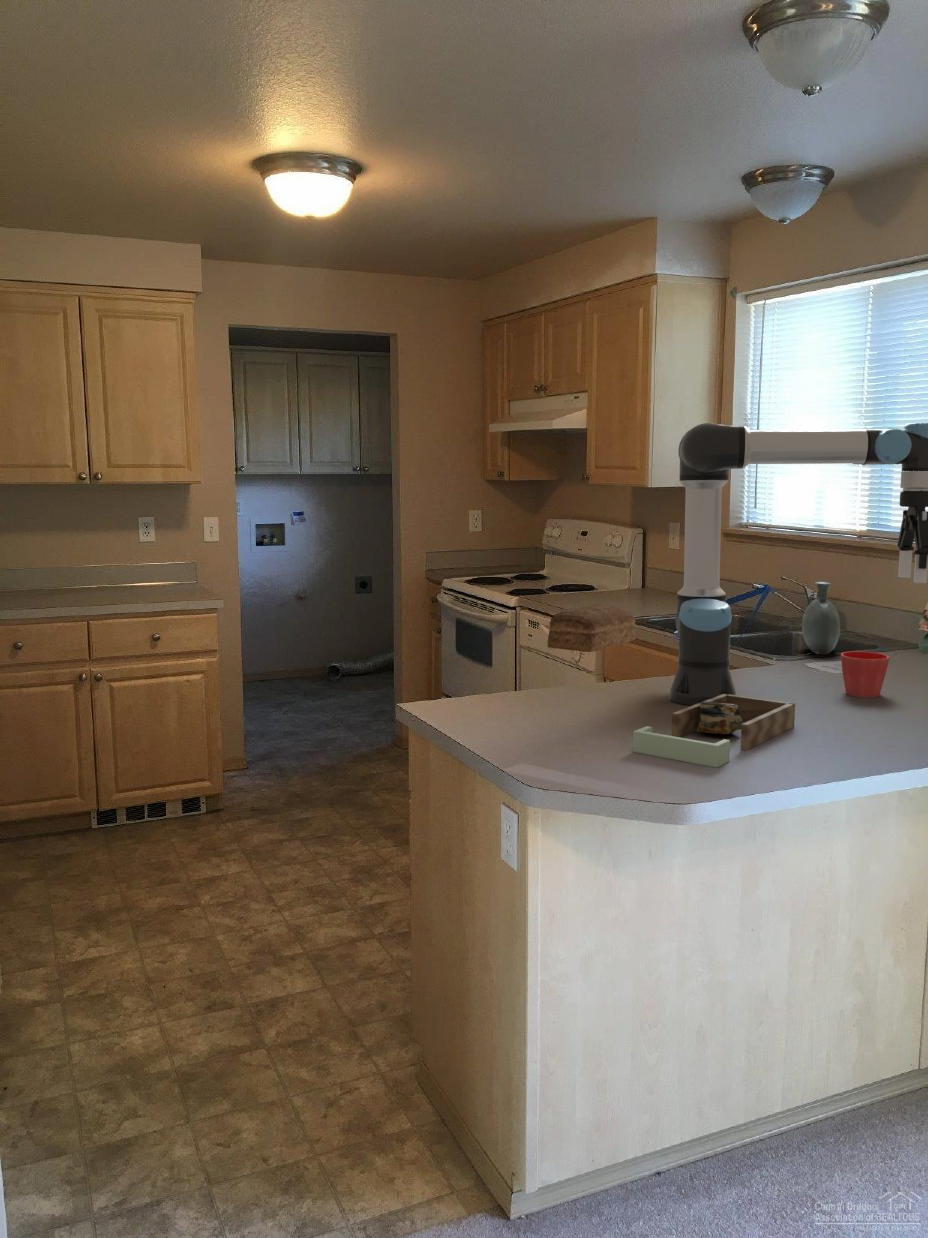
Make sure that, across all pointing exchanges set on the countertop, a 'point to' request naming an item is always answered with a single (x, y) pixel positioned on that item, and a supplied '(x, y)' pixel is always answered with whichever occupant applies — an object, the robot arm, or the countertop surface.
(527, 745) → the countertop surface
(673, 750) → the bracket
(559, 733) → the countertop surface
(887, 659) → the flower pot
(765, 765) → the countertop surface
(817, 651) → the flask
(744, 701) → the cubby
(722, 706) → the rock
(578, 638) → the bread
